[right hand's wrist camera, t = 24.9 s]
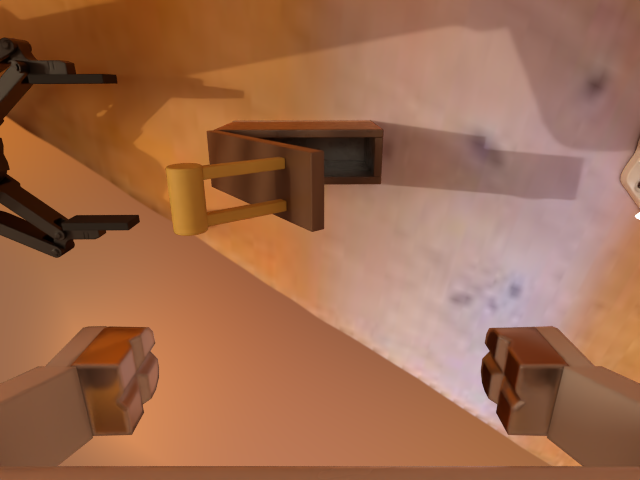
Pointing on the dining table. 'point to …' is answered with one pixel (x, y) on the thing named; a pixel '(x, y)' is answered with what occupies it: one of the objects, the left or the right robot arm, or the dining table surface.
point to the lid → (249, 183)
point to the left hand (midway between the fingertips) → (123, 154)
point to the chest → (327, 145)
